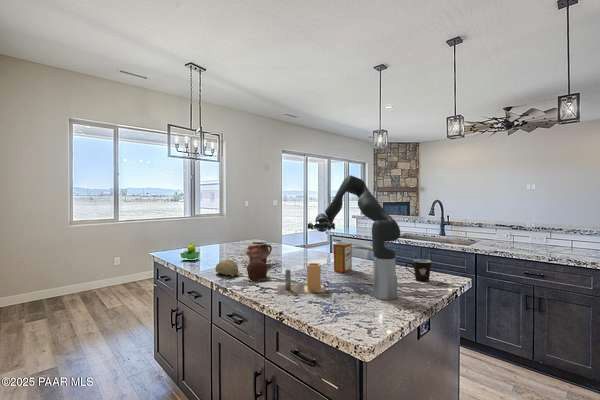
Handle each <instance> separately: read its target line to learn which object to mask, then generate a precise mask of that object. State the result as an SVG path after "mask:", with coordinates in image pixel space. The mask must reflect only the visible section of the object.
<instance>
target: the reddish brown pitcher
mask: <svg viewBox="0 0 600 400" xmlns="http://www.w3.org/2000/svg"><path fill="white" fill-rule="evenodd" d="M272 250H273V248H272V245H271V244H268V243H267V242H264V241H263V242H262V241H261V242H260V241H256V242H255V241H253V242H251V243H249V245H248V246H247V248H246V251H245V254H246V255H247V257H248V258H249V263H250V262H252V261H255V260H260V261H263V262H265V263H266V264H267V261H268V258H269V256H270V254H271V252H272Z"/></svg>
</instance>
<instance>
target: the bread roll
mask: <svg viewBox="0 0 600 400" xmlns="http://www.w3.org/2000/svg"><path fill="white" fill-rule="evenodd" d="M214 269H215V272H216V273H217V274H220V273H221V275H224V274H225V276H227V275H236V276H238V274H239V267H238V264H237V263H236V262H235V261H234V260H230V259H225V260H222V261H220V262H219V263H217V264H216V266H215V268H214Z"/></svg>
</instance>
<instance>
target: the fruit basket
mask: <svg viewBox="0 0 600 400" xmlns="http://www.w3.org/2000/svg"><path fill="white" fill-rule="evenodd" d="M200 253H201V252H200V251H196V245H195V243H193V242H191V243H190V244H189V245H188V246H187V251H183V252H180V253H179V254H180V257H181V259H182V258H187V259H195V258H198V259H199V257H200Z"/></svg>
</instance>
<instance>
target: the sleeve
mask: <svg viewBox="0 0 600 400" xmlns="http://www.w3.org/2000/svg"><path fill="white" fill-rule="evenodd" d="M306 266H307V267H306V270H307V271H306V274H307V275H306V276H307V277H306V278H307V279H306V284H307V290H319V291H320V287H321V284H322V283H321V282H322V281H321V277H322V275H321V269H322V268H321V263H319V262H308V263H307V265H306Z"/></svg>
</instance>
